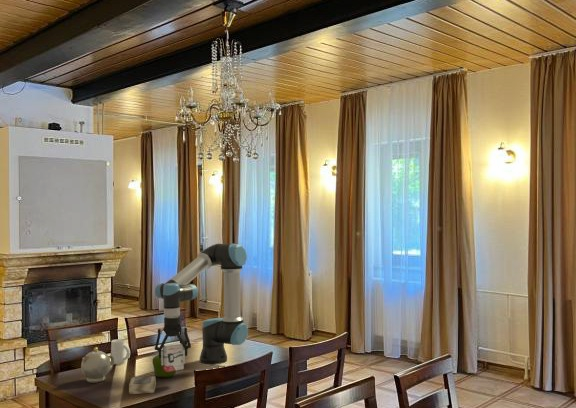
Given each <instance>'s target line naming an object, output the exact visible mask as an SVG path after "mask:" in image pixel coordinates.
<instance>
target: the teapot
mask: <svg viewBox="0 0 576 408" xmlns="http://www.w3.org/2000/svg"><path fill="white" fill-rule="evenodd" d="M114 365H115V364H114V358H113V356H112V355H111V353H106V352H104V351H101V350H99V348H98V347H97V346H95V347H93V350H92V351H90V352H88V353H87V354H86V355H85V356H84V357H82V360H81V365H80V368H81V371H82V374H83V375H84V376H85V377H86V382H87V383H89V384H97V383H98V382H99V383H103V382H104V381H105V380H106V375H108V373H109V372H110V371H112V370H113V368H114ZM99 383H98V384H99Z"/></svg>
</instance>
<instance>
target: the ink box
mask: <svg viewBox="0 0 576 408" xmlns="http://www.w3.org/2000/svg"><path fill="white" fill-rule="evenodd" d="M183 349H184V347H183V345H182V344H181V342H173V343H167V344H164V346H163V348H162V350H163V370H164V371H166V372H170V371H175V370H176V371H179V370H184V368H185V367H184V365H185V364H183Z"/></svg>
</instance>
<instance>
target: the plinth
mask: <svg viewBox="0 0 576 408" xmlns="http://www.w3.org/2000/svg"><path fill="white" fill-rule="evenodd" d="M156 376H157V375H149V376H148V375H146V376H134V377H133V376H132V377H131V379H130V381H129V384H128V394H129V395H136V394H137V395H139V394H154V393H155V390H156V385H157V381H156V380H157V379H156Z"/></svg>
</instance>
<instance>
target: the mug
mask: <svg viewBox="0 0 576 408" xmlns="http://www.w3.org/2000/svg"><path fill="white" fill-rule="evenodd" d="M110 350H111V351H110V354H111V355H112V356H113V358H114V365H122V364H126V363H127V360H128V359H129V358H130V356H131V349H130V347H129V346H128V345H127V339H124V338H118V339H112V340H111V346H110Z"/></svg>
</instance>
